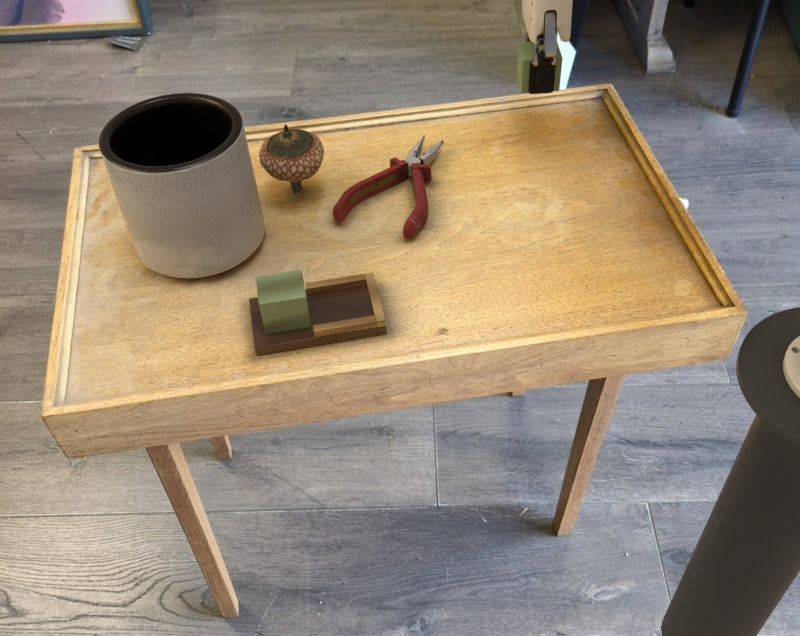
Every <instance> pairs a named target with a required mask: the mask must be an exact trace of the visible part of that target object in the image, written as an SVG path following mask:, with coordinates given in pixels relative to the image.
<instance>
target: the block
mask: <svg viewBox="0 0 800 636" xmlns="http://www.w3.org/2000/svg"><path fill="white" fill-rule="evenodd" d="M543 48H544V45H539V52H540V50H543ZM538 54H539V53H538ZM530 63H533V43H530V42H523V43H521V42H520V43H518V46H517V62H516V80H517V83H518V87H519V91H520V94H530V93H529V91H528V86H529V72H530ZM562 69H563V54H562V51H561V48H560V46H559V43H558V42H557V49H556V70H555V80H554V90H553V92H560V88H561V87H560V86H561V76H562Z"/></svg>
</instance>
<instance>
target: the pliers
mask: <svg viewBox="0 0 800 636" xmlns="http://www.w3.org/2000/svg"><path fill="white" fill-rule="evenodd" d="M425 138H426V135H425V134H423V135H422V137H420V138H419V140H418V141H417V142H416V143H415V145H413V146H412V147H411V149H410V150H409V151H408V153H407V155H406V158H405V159H399V158H397V157H392V158H390V159H389V167H388V168H386V169H383V170H381V171H379V172H377V173H375V174H372V175H370V176H369V177H366V178H365V179H362V180H360V181H358V182H357V183H355V184H353V185H351V186H350V187H348V188H347V189H346V190H345V191H344V192H343V193H342V194H341V196H340V197H339V199H338V200H337V202H336V203H335V204H334V206H333V209H332V217H333V218H334V220H335V221H336V222H338V223H343V222H344V221H345V220H346V218H347V217H348V215H349V214H350V212H351V211H352V210H353V209H354V208H355V207H356V206H357V205H358V204H360V203H361V202H363V201H365V200H367V199H369V198H371V197H373V196H375V195H378V194H380V193H381V192H384V191H386V190H388V189H390V188H391V187H394V186H396V185H398V184H400V183H404V182H406V180H408V179H409V177H411V181H412V187H413V193H414V199H415V200H414V201H415V208H414V210H412V212H411V213H410V215H409V216H408V217H407V218H406V220H405V222H404V224H403V228H402V237H403V238H404V239H406V240H407V239H409V240H410V239H413V238H414V237H415V236H416V235H417V233H418V232H419V231H420V229H421V228H422V226H423V225H424V224H425V222H426V220H427V218H428V214H429V201H428V195H427V189H426V184H429V183H431V181H432V168H431V166H430V165H431V164H432V163H433V160H434V159H435V157H436V156H437V154H438V153H439V151H440V149H441V148H442V146H443V144H444V143H445V140H444V139H442V140H441V141H438V142H436V143H434V144H433V145H431V146H429V147H428V148H427V149H426V150H424V151H423V154H422V155H421V151H422V148H423V144H424V141H425ZM420 155H421V156H420Z"/></svg>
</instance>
